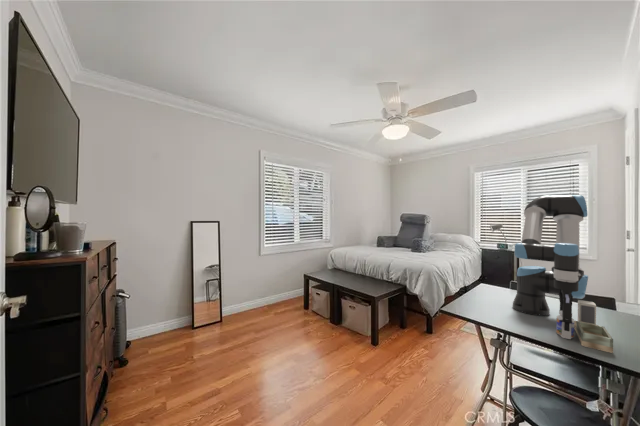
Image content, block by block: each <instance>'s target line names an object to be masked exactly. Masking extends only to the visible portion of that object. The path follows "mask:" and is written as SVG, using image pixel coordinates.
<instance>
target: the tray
mask: <svg viewBox="0 0 640 426" xmlns="http://www.w3.org/2000/svg"><path fill="white" fill-rule="evenodd" d="M574 332H575V333H576V335H577V338H578V340H579V342H580V345H581V346H582V347H586V348H590V349H593V350H598V351H603V352H606V353H609V354H610V353H611V354H614V338H613V336H611V334H610V333H609V332H608V330H607V329H606V327H605V326H602V325H598V324H596V325H592V324H587V323H582V322H578V320H574Z"/></svg>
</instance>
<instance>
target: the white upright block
mask: <svg viewBox="0 0 640 426" xmlns="http://www.w3.org/2000/svg"><path fill="white" fill-rule="evenodd" d="M577 321H578V322H582V323H587V324H592V325H597V305H596V303H595V302H593V301H588V300H582V299H577Z"/></svg>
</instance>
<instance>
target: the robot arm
mask: <svg viewBox="0 0 640 426" xmlns="http://www.w3.org/2000/svg"><path fill="white" fill-rule="evenodd" d="M587 208H588V206H587V201H586V198H585V196H584V195H582V194H566V195H564V194H563V195H562V194H561V195H559V194H558V195H542V196H538V197H537V198H535V199H533V200H531V201H530V202H529V203H527V205H526V206H525V208H524V211H523V215H524V217H525V219H524V224H523V230H522V236H521V242H515V244H514V257H516V259H517V258H518V259H523V260H532V261H533V260H534V261H542V262H543V261H544V262H552V263H553V266H551V270H547V268H546V266H538V265H525V266H520V267H518V268H517V271H516V272H517V273H516V295H515V297H514V299H513V301H512V308H513V309H514V310H516V311H518V312H521V313H525V314H529V315H533V316H534V315H535V316H539V317H540V316H544V317H545V316H549V315H550V313H551V312H550V311H551V310H550V307H549V304H548V302H547V299H546V294H547V295H548V294H549V295H553V296H554V295H555V296H558V297H559V299H558V300H559V310H558V311H560V310H562V317H563V319H562V320H560V321H561V322H562V336H561V338H563V339H568V340H572V338H571V323H572V318H573V310H572V309H573V300H574V299H577V300H582V299H584V298H585V297H586V292H587V287H588V286H587V285H588V282H589V281H588V279H589V275H587V274H585V270H583V269H582V268H581V267H580V223H581V222H583V221H584V218H586V217H588V209H587ZM546 217H552V220H553V221H554V222H556V235H555V236H556V237H555V238H556V239H555V241H556V243H555V244H554V245H552V244H542V237H543V226H544V219H545V218H546Z"/></svg>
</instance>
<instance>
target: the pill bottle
mask: <svg viewBox="0 0 640 426" xmlns="http://www.w3.org/2000/svg"><path fill="white" fill-rule="evenodd" d="M559 310H560V309H559ZM559 310H558V311H559ZM562 319H563V317H562V310H560V311H559V312H558V315H557V316H556V327H555V329H556V331H555V332H556V334H557V335H559V336H561V337H562V322H561V321H560V320H562ZM574 321H575V319H574V318H573V317H572V323H571V339H573V338H575V328H574Z"/></svg>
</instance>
